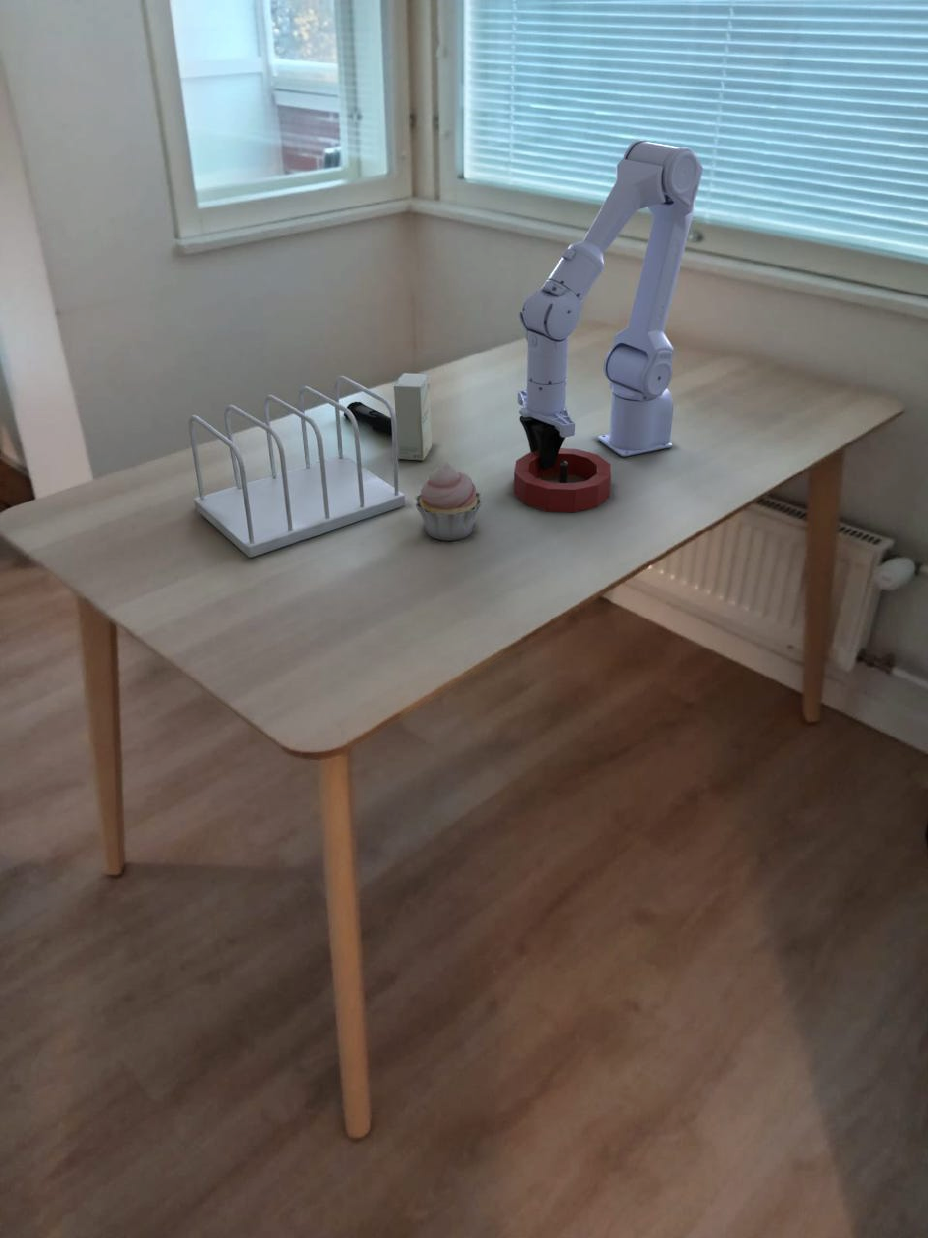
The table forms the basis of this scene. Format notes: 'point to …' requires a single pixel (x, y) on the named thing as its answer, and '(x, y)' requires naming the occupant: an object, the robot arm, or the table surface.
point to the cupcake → (448, 504)
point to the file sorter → (296, 485)
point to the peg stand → (563, 476)
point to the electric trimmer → (370, 417)
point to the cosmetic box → (413, 416)
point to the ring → (563, 494)
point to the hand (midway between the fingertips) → (543, 463)
